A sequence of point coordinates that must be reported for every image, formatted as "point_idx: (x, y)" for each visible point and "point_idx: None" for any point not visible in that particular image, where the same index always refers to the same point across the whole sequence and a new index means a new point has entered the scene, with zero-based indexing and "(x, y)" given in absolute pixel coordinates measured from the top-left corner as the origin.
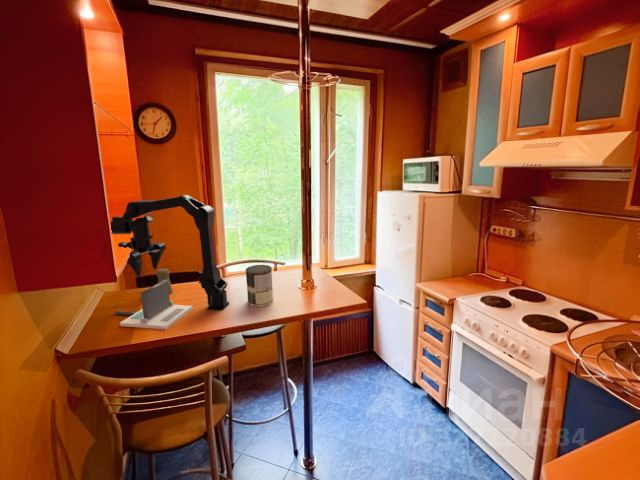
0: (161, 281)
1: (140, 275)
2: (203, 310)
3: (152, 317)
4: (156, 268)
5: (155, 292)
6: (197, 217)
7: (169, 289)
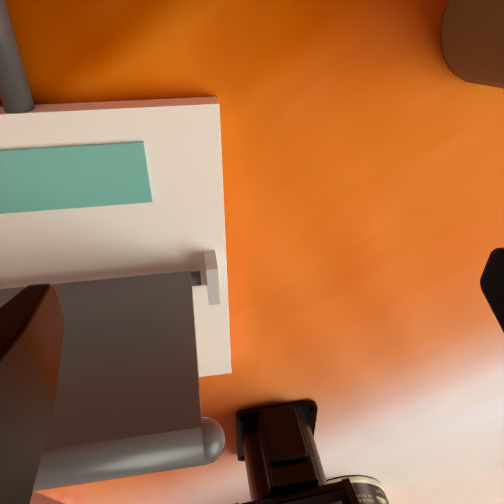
0: (145, 467)
1: (54, 347)
2: (221, 403)
3: (8, 286)
4: (496, 294)
5: None
6: None
7: (500, 87)
